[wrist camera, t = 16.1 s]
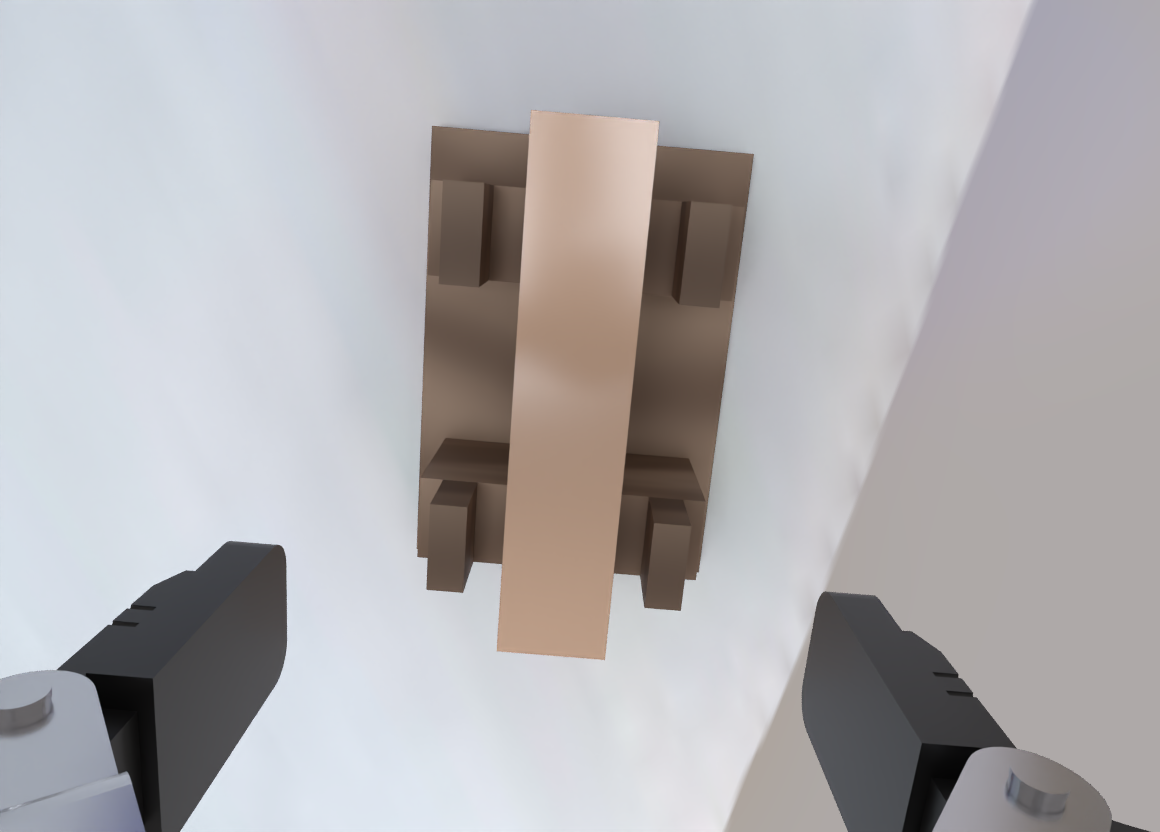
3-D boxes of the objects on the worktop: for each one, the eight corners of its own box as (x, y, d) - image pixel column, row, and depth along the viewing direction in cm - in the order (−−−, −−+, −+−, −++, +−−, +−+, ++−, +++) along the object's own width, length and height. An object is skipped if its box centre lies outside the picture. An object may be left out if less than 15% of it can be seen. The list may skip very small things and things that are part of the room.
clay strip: (539, 124, 25) (531, 110, 21) (648, 134, 25) (659, 121, 21) (509, 591, 29) (496, 651, 25) (602, 599, 29) (604, 659, 25)
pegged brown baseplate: (438, 129, 31) (382, 100, 23) (747, 156, 31) (804, 137, 23) (422, 537, 35) (370, 639, 27) (694, 560, 35) (727, 669, 27)
